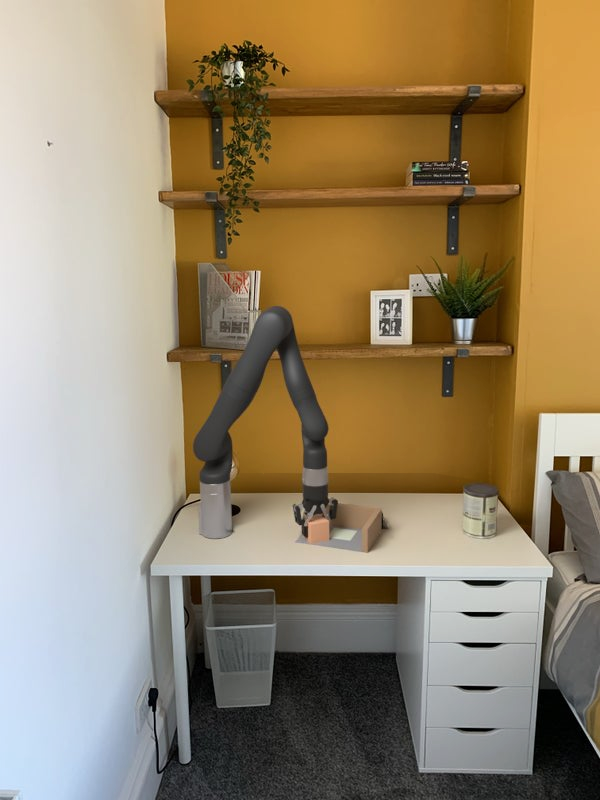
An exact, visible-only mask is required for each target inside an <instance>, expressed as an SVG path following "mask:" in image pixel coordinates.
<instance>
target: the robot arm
mask: <svg viewBox="0 0 600 800" xmlns="http://www.w3.org/2000/svg"><path fill="white" fill-rule="evenodd" d="M276 350H277V351H276ZM275 352H277V354H278V357H279V359H280V363H281V368H282V370H281V371H282V375H283V380H284V383H285V387H286V389H287V393H288V395H289V398H290V400H291V403H292V405H293V407H294V408H295V411H296V412H297V415H298V417H299V421H300V422H301V425H300V426H301V429H300V430H301V439H302V447H303V448H302V449H303V452H302V453H303V454H302V466H303V467H302V468H303V469H302V474H301V475H302V478H301V479H302V480H301V481H302V500H301V501H302V502H300V503H299V504H297V503H293V504H292V508H293V509H292V510H293V516H294V522H295V523H296V524H297V525H298V526H301V535H303V536H304V537H305V538H308V526H307V525H308V523H309V521H310V520H311V518H312V516H313V515H316V514H322V516H323V517H324V518H325V519H327V520H328V521H329V531H330V521H331V520H332V519H335V518H336V513H337V505H338V503H339V501H338V499H336V498H335V497H331V498H329V470H328V451H327V448H326V443H325V442H326V440H325V438H326V436H327V435H328V433H329V424H328V421H327V418H326V416H325V414H324V412H323V410H322V408H321V405H320V404H319V402H318V401H319V400H318V398H317V395H316V391H315V389H314V387H313V384H312V381H311V379H310V377H309V374H308V371H307V369H306V366H305V364H304V360H303V357H302V355H301V350H300V347H299V344H298V339H297V335H296V330H295V325H294V321H293V316H292V314H291V313H290V312H289V310H288V309H286V308H285V307H283V306H280V305H273V306H270V307H268V308H267V309H265V310H264V311H262V312H261V313H260V314H259V315H258V317H257V318H256V321H255V322H254V325H253V327H252V331H251V334H250V336H249V338H248V342H247V344H246V346H245V348H244V350H243V352H242V354H241V355H240V356H239V358H238V360H237V361H236V363H235V365H234V366H233V368H232V370H231V372H230V373H229V375H228V377H227V379H226V381H225V382H224V385H223V387H222V389H221V390H220V393H219V395H218V397H217V399H216V402H215V403H214V405H213V407H212V410H211V412H210V414H209V415H208V417H207V419H206V420H205V421H204V423H203V425H202V426H201V428H200V429H199V431H198V432H197V434H196V435H195V437H194V439H193V443H192V451H193V454H194V456H195V457H196V458H197V459H198V460H199V461H201V462H203V463H204V465H203V467H202V468H201V469H200V471H199V493H200V495H199V497H200V503H199V504H198V505H197V510H198V531H199V535H201V536H202V537H205V538H208V539H214V540H215V539H223V538H226V537H229V536H230V535H231V534H232V533H233V522H232V521H233V520H232V518H233V517H232V495H231V494H232V493H231V492H232V491H231V490H232V489H231V472H232V469H233V453H234V452H233V450H234V449H233V439H232V436H231V434H230V432H229V430H230V429H231V427H232V426H233V425H234V423H235V422H237V420H239V418H240V417H241V416H242V415H243V414H244V412H246V410H247V409H248V408H249V407H250V405H251V403H252V402H253V400H254V398H255V396H256V395H257V392H259V389H260V387H261V385H262V383H263V379H264V376H265V371H266V369H267V366H268V363H269V361H270V360H271V358H272V356H273V354H274V353H275ZM328 504H329V505H330V509H329V514H328V512H327V510H326V507H327V505H328ZM303 509H304V511H303ZM302 511H303V512H302ZM301 512H302V515H301Z"/></svg>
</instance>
